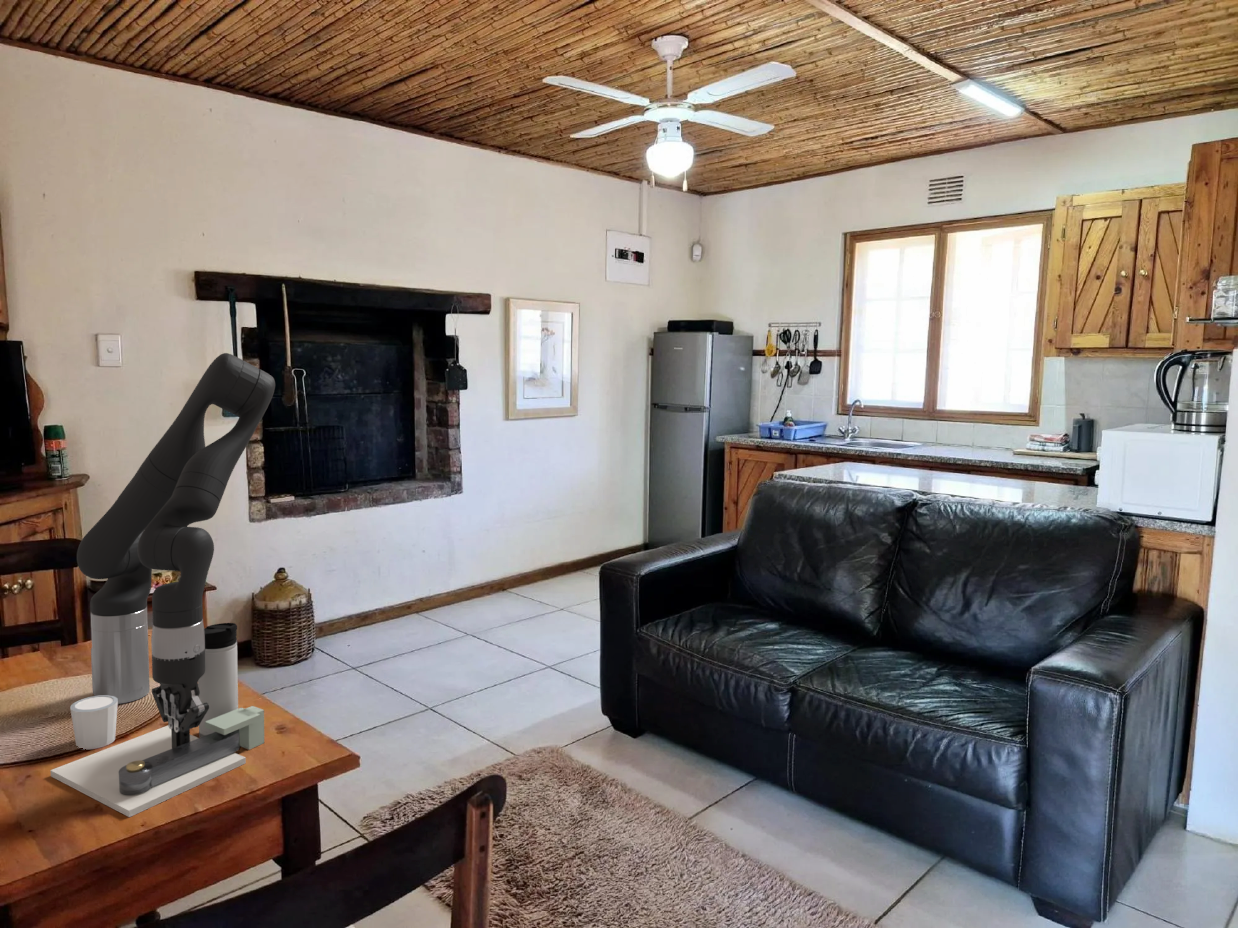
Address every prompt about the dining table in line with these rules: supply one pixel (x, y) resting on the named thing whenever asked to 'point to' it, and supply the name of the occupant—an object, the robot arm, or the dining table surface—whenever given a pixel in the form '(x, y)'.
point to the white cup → (94, 721)
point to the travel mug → (219, 673)
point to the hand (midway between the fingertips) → (181, 749)
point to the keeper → (241, 725)
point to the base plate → (102, 768)
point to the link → (176, 762)
